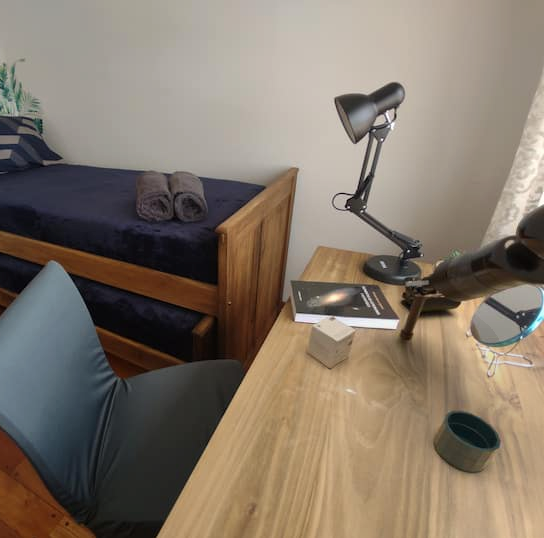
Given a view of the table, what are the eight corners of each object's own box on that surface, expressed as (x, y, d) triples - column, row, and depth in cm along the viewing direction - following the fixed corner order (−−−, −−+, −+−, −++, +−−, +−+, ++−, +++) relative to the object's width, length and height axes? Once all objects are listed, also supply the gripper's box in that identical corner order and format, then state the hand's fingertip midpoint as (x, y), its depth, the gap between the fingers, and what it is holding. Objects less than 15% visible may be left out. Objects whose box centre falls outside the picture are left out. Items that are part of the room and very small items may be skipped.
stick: (407, 333, 79) (428, 279, 72) (413, 341, 77) (435, 286, 70) (396, 333, 79) (416, 280, 72) (402, 341, 77) (423, 286, 70)
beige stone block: (329, 369, 72) (337, 341, 68) (305, 352, 76) (311, 324, 72) (348, 357, 74) (356, 329, 71) (324, 341, 79) (330, 314, 75)
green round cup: (464, 432, 59) (477, 410, 56) (496, 472, 53) (512, 450, 51) (423, 433, 59) (435, 411, 56) (451, 473, 53) (465, 451, 50)
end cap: (416, 319, 85) (425, 295, 81) (398, 302, 91) (405, 279, 87) (455, 316, 86) (466, 292, 82) (434, 299, 92) (444, 276, 88)
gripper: (514, 252, 58) (446, 277, 75) (426, 251, 59) (378, 276, 76) (523, 298, 56) (451, 313, 73) (432, 296, 57) (381, 311, 74)
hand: (414, 294), depth 74 cm, fingers closed on stick, 2 cm apart
